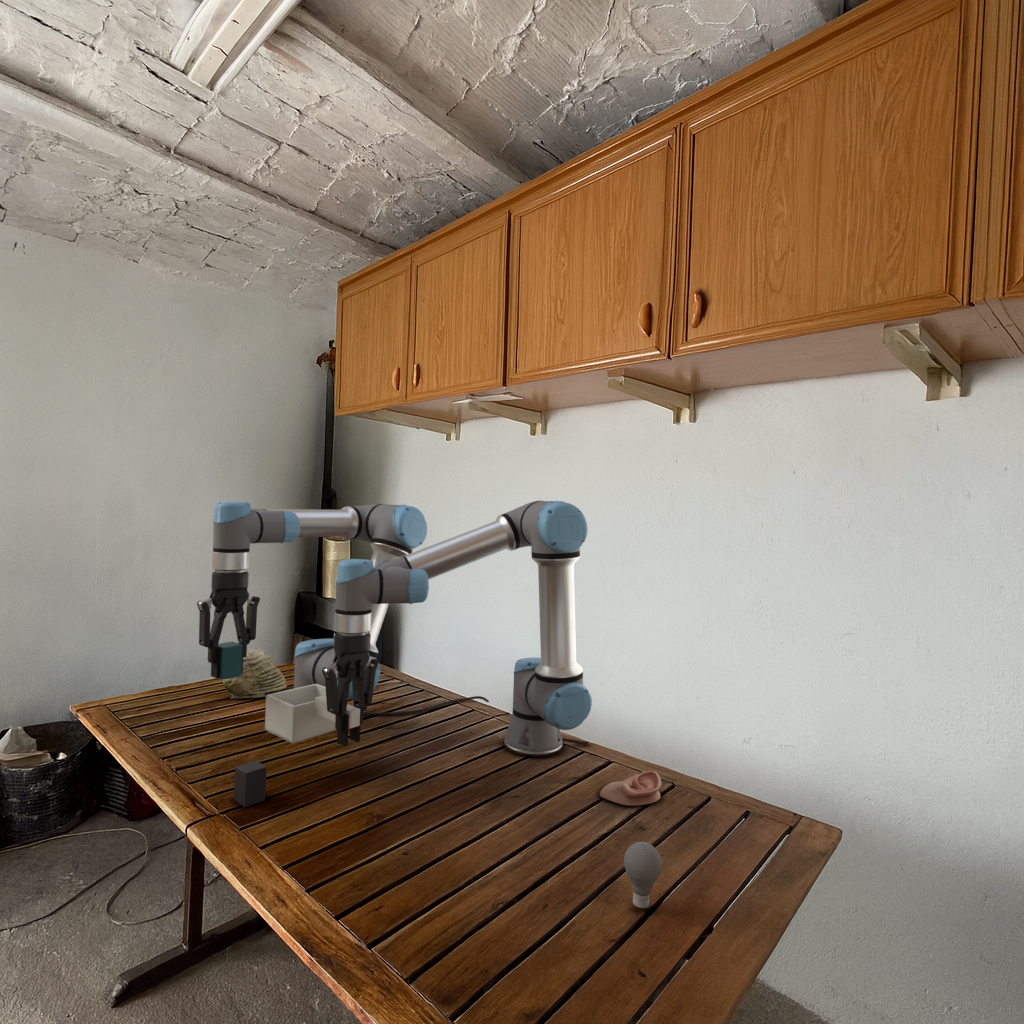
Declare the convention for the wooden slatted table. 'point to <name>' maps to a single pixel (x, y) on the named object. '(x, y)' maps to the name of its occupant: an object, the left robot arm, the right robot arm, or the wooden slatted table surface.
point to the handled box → (302, 713)
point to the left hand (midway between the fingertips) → (226, 674)
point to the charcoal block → (250, 783)
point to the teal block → (230, 660)
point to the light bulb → (642, 870)
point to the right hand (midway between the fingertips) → (348, 741)
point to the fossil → (256, 677)
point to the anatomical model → (634, 790)
